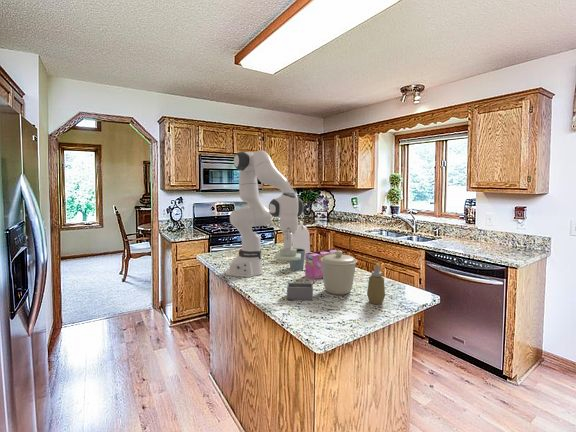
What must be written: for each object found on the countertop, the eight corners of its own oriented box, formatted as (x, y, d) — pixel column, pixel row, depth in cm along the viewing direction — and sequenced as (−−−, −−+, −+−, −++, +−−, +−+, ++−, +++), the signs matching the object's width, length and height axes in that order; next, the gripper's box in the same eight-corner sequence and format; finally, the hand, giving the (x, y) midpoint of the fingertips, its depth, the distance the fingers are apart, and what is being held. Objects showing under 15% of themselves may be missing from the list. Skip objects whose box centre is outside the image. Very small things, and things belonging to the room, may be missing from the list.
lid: (274, 260, 162) (274, 250, 161) (276, 256, 169) (276, 247, 169) (300, 261, 161) (301, 251, 161) (300, 257, 169) (301, 248, 168)
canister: (318, 285, 179) (319, 246, 176) (353, 286, 178) (354, 247, 176) (321, 297, 161) (322, 254, 158) (359, 298, 160) (360, 254, 158)
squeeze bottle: (364, 299, 158) (365, 262, 156) (381, 299, 159) (382, 262, 157) (370, 306, 150) (371, 266, 148) (387, 305, 151) (389, 266, 149)
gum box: (334, 269, 210) (335, 248, 209) (343, 272, 204) (344, 250, 202) (304, 275, 196) (305, 253, 195) (313, 279, 190) (313, 255, 189)
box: (287, 299, 157) (287, 287, 157) (287, 294, 164) (287, 282, 164) (312, 300, 157) (312, 288, 156) (312, 295, 164) (312, 283, 163)
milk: (291, 255, 247) (292, 220, 244) (307, 255, 248) (307, 220, 246) (294, 259, 235) (294, 222, 232) (310, 259, 237) (310, 222, 234)
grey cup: (287, 269, 209) (287, 251, 207) (290, 265, 218) (291, 247, 217) (303, 271, 206) (303, 252, 205) (306, 266, 216) (306, 248, 215)
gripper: (294, 230, 153) (293, 260, 155) (295, 223, 173) (295, 249, 175) (280, 230, 153) (280, 259, 155) (283, 222, 173) (283, 248, 175)
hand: (288, 254), depth 165 cm, fingers closed on lid, 3 cm apart
